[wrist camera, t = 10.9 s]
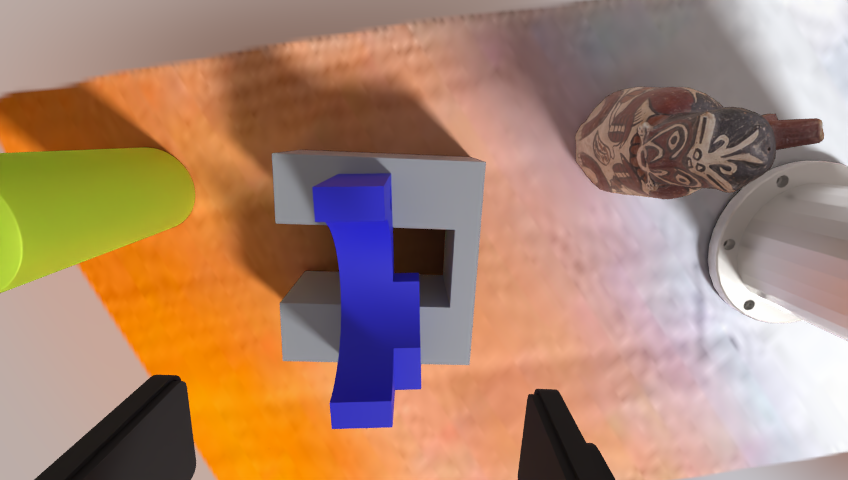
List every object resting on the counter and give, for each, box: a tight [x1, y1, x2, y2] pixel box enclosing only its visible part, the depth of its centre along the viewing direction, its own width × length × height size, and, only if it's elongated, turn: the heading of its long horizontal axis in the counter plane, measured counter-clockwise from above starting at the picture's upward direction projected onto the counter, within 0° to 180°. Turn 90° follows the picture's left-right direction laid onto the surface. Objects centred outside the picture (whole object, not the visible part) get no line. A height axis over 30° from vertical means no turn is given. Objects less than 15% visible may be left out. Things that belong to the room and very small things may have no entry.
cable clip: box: [312, 173, 421, 429], centre depth 21 cm, size 12×4×6 cm, turn 0°
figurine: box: [575, 87, 824, 199], centre depth 23 cm, size 7×7×12 cm
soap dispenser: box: [0, 147, 195, 293], centre depth 19 cm, size 6×7×20 cm
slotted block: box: [272, 150, 486, 365], centre depth 27 cm, size 12×13×6 cm
